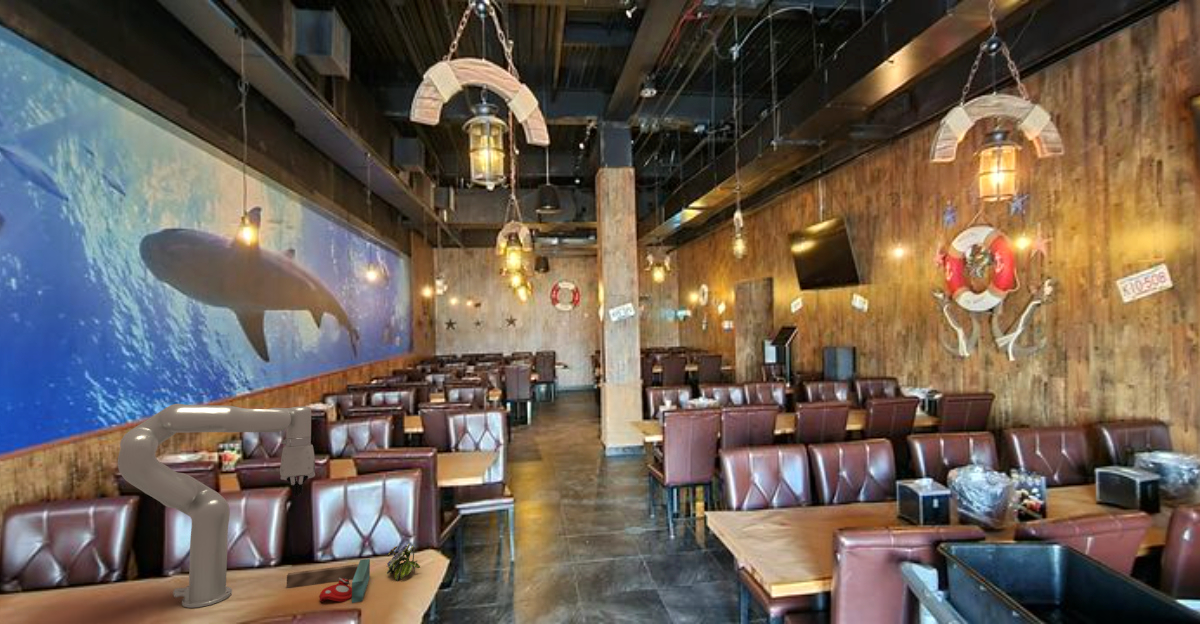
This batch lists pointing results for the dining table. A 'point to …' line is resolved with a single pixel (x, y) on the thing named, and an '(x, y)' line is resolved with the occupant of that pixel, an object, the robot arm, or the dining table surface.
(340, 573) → the frame
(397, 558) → the passion flower
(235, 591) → the dining table surface
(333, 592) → the tracker holder
